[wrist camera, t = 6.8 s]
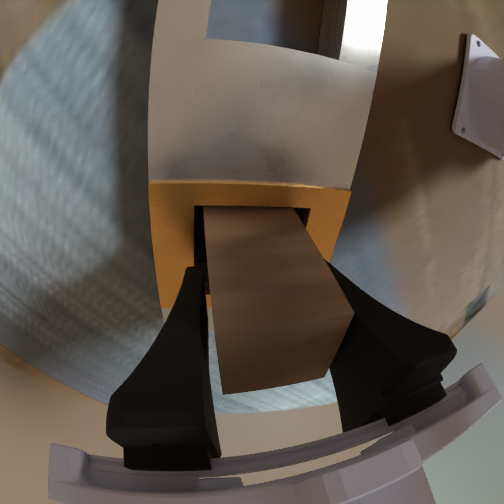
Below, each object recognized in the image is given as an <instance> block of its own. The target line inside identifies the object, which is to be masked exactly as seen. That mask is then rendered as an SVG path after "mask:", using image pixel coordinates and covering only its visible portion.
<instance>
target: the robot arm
mask: <svg viewBox="0 0 504 504" xmlns="http://www.w3.org/2000/svg"><path fill="white" fill-rule="evenodd" d="M461 129H462V130H461ZM452 131H453V133H454V134H456V135H459V136H461V137H463V138H465V139H467V140H468V141H470V142H472V143H474V144H476V145H478V146H480V147H482V148H483V149H485V150H487V151H489V152H491V153H492V154H494V155H496V156H497V157H499V158H501V159H502V160H504V60H503V59H500V58H499V57H498V56H497V55H496V54H495V53H494V52H493V51H492V50H491V49H490V48H489V47H488V46H487V45H486V44H484V43H483V42H482V41H481V40H480V39H479V38H478V37H477V36H475V35H474V34H468V35H467V42H466V52H465V60H464V68H463V74H462V80H461V86H460V91H459V97H458V101H457V106H456V111H455V115H454V119H453V123H452ZM324 260H325V259H324ZM325 262H326V263H327V265H328V267H329V268H330V270H331V272H332V274H333V275H334V277H335V279H336V281H337V282H338V284H339V286H340V288H341V289H342V291H343V293H344V295H345V297H346V298H347V300H348V302H349V304H350V306H351V308H352V309H353V311H354V315H353V318H352V320H351V322H350V324H349V327H348V329H347V331H346V333H345V336H344V338H343V340H342V342H341V344H340V346H339V348H338V351H337V353H336V355H335V357H334V359H333V361H332V363H331V365H330V367H329V368H330V372H331V376H332V379H333V383H334V387H335V391H336V396H337V401H338V405H339V411H340V416H341V422H342V429H343V433H341V434H338V435H335V436H331V437H328V438H325V439H321V440H317V441H313V442H310V443H305V444H301V445H297V446H293V447H288V448H283V449H278V450H274V451H268V452H262V453H256V454H249V455H242V456H234V457H225V458H220V456H221V450H220V444H219V438H218V432H217V425H216V419H215V413H214V406H213V399H212V391H211V384H210V376H209V350H208V312H207V302H206V293H205V285H204V276H203V267H202V266H191V267H187V268H186V269H185V274H184V278H183V281H182V284H181V287H180V290H179V293H178V295H177V297H176V300H175V302H174V305H173V307H172V309H171V311H170V313H169V315H168V318H167V320H166V322H165V324H164V325H163V327H162V329H161V331H160V333H159V334H158V336H157V338H156V340H155V341H154V343H153V344H152V346H151V347H150V349H149V350H148V352H147V353H146V355H145V356H144V358H143V359H142V360H141V362H140V363H139V364H138V366H137V367H136V368H135V369H134V371H133V372H132V373H131V375H130V376H129V377H128V378H127V379H126V380H125V381H124V383H123V384H122V385H121V386H120V387H119V388H118V389H117V390H116V391H115V392H114V393H113V394H112V396H111V398H110V402H109V406H108V411H107V418H106V420H107V421H106V434H107V436H108V437H109V438H110V439H111V440H113V441H114V442H116V443H117V444H119V445H120V446H122V447H123V448H124V459H123V458H113V457H104V456H96V455H90V454H87V453H86V452H84V451H82V450H80V449H77V448H73V447H68V446H63V445H58V444H53V443H51V444H50V451H49V476H48V483H49V485H48V486H49V487H48V489H49V499H50V500H52V501H55V502H59V503H62V504H435V500H434V497H433V495H432V492H431V489H430V486H429V483H428V481H427V478H426V475H425V472H424V470H423V467H422V464H423V461H425V460H426V459H428V458H429V457H431V456H432V455H433V454H435V453H437V452H438V451H440V450H441V449H443V448H444V447H446V446H447V445H448V444H449V443H451V442H452V441H454V440H455V439H456V438H457V437H459V436H460V435H462V434H463V433H464V432H465V431H467V430H468V429H469V428H470V427H472V426H473V425H474V424H475V423H476V422H477V421H479V420H480V419H481V418H482V417H483V416H484V415H486V414H487V413H488V412H489V411H490V410H492V409H493V408H494V407H495V406H496V405H497V404H498V403H499V402H501V401H502V397H501V395H500V393H499V391H498V389H497V387H496V386H495V384H494V382H493V380H492V378H491V377H490V375H489V373H488V371H487V370H486V368H485V366H484V365H483V363H480V364H479V365H477V366H476V367H474V368H472V369H471V370H470V371H468V372H467V373H466V374H465V375H464V376H463V377H462V378H461V379H460V380H459V381H458V382H456V383H455V384H453V385H451V386H449V387H447V388H446V389H444V388H443V386H442V385H441V383H440V382H441V381H442V380H443V378H442V376H441V374H440V373H441V372H442V371H443V370H444V369H445V368H446V367H447V365H448V364H449V363H450V362H451V361H452V360H453V359H454V357H455V355H456V353H457V349H456V347H455V346H454V344H453V343H452V341H451V339H450V338H449V336H448V335H447V334H444V333H441V332H438V331H435V330H432V329H430V328H427V327H425V326H422V325H420V324H418V323H415V322H413V321H411V320H409V319H407V318H405V317H403V316H402V315H400V314H398V313H396V312H394V311H392V310H391V309H389V308H387V307H386V306H384V305H383V304H381V303H380V302H378V301H377V300H375V299H374V298H372V297H371V296H369V295H368V294H367V293H365V292H364V291H363V290H361V289H360V288H359V287H358V286H356V285H355V284H354V283H353V282H351V281H350V280H349V279H348V278H346V277H345V276H344V275H343V274H342V273H341V272H339V271H338V270H337V269H336V268H335V267H334V266H332V265H331V264H330V263H329V262H328V261H326V260H325ZM393 431H394V432H393ZM390 432H393V433H391V434H390V435H387V436H385V437H383V438H381V439H379V440H378V441H377V442H376V443H375V444H373V445H371V446H370V447H368V448H366V449H364V450H363V451H361V455H359V456H357V457H354V458H351V459H348V460H346V461H342V462H339V463H336V464H333V465H330V466H327V467H324V468H320V469H317V470H314V471H310V472H306V473H303V474H299V475H296V476H291V477H287V478H283V479H278V480H274V481H269V482H264V483H259V484H253V485H247V486H243V483H242V481H241V478H239V477H232V478H231V477H230V478H204V479H199V478H202V477H217V476H228V475H237V474H245V473H252V472H258V471H264V470H270V469H275V468H280V467H285V466H290V465H294V464H298V463H302V462H306V461H310V460H314V459H318V458H321V457H324V456H328V455H331V454H335V453H338V452H341V451H344V450H346V449H350V448H353V447H355V446H358V445H361V444H364V443H366V442H369V441H371V440H374V439H376V438H379V437H381V436H383V435H386V434H388V433H390Z"/></svg>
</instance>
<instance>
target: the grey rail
mask: <svg viewBox="0 0 504 504" xmlns="http://www.w3.org/2000/svg"><path fill="white" fill-rule="evenodd" d="M210 5H211V0H158V6H157V13H156V20H155V28H154V36H153V45H152V55H151V67H150V82H149V103H148V174H149V183H148V192H149V208H150V222H151V233H152V244H153V253H154V262H155V270H156V278H157V285H158V292H159V299H160V305H161V308H162V314H163V320H164V324H165V322H166V320H167V318H168V315H169V313H170V311H171V309H172V307H173V305H174V302H175V300H176V297H177V295H178V293H179V290H180V287H181V284H182V281H183V278H184V274H185V269H186V268H187V267H191V266H202V267H203V276H204V285H205V293H206V302H207V312H208V331H213V330H214V324H213V315H212V306H211V296H210V286H209V275H208V265H207V263H194V205H220V206H269V207H293V209H294V210H295V212H296V214H297V215H298V217H299V218H300V220H301V222H302V223H303V225H304V227H305V228H306V230H307V231H308V233H309V235H310V236H311V238H312V240H313V241H314V243H315V245H316V246H317V248H318V250H319V251H320V253H321V255H322V256H323V258H324V259H325V260H326V261H328V262H330V259H331V256H332V253H333V250H334V247H335V244H336V241H337V238H338V235H339V232H340V229H341V225H342V222H343V219H344V216H345V213H346V209H347V206H348V203H349V199H350V196H351V192H352V191H350V187H351V184H352V180H353V177H354V173H355V169H356V165H357V161H358V158H359V154H360V150H361V146H362V142H363V137H364V133H365V129H366V125H367V120H368V116H369V111H370V106H371V102H372V97H373V92H374V87H375V81H376V76H377V70H378V65H379V59H380V52H381V46H382V39H383V32H384V24H385V16H386V6H387V0H324V6H323V13H322V20H321V27H320V34H319V41H318V47H317V54H312V53H308V52H303V51H299V50H294V49H289V48H283V47H278V46H271V45H265V44H258V43H250V42H240V41H229V40H215V39H206V33H207V25H208V18H209V11H210Z"/></svg>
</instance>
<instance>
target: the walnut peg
mask: <svg viewBox="0 0 504 504" xmlns="http://www.w3.org/2000/svg"><path fill="white" fill-rule="evenodd" d="M203 213H204V227H205V241H206V253H207V265H208V275H209V286H210V296H211V306H212V315H213V324H214V332H215V340H216V348H217V356H218V364H219V371H220V378H221V385H222V392H223V395H225V394H233V393H241V392H249V391H256V390H262V389H269V388H274V387H280V386H286V385H291V384H296V383H301V382H306V381H310V380H315V379H319V378H323V377H325V375H326V373H327V371H328V369H329V367H330V365H331V363H332V361H333V359H334V357H335V355H336V353H337V351H338V348H339V346H340V344H341V342H342V340H343V338H344V336H345V333H346V331H347V329H348V327H349V324H350V322H351V320H352V318H353V315H354V311H353V309H352V308H351V306H350V304H349V302H348V300H347V298H346V297H345V295H344V293H343V291H342V289H341V288H340V286H339V284H338V282H337V281H336V279H335V277H334V275H333V274H332V272H331V270H330V268H329V267H328V265H327V263H326V262H325V260H324V258H323V256H322V255H321V253H320V251H319V250H318V248H317V246H316V245H315V243H314V241H313V240H312V238H311V236H310V235H309V233H308V231H307V230H306V228H305V227H304V225H303V223H302V222H301V220H300V218H299V217H298V215H297V214H296V212H295V210H294V209H293V207H269V206H220V205H203Z"/></svg>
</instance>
